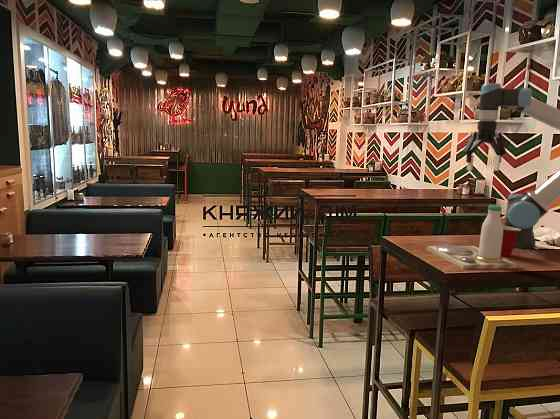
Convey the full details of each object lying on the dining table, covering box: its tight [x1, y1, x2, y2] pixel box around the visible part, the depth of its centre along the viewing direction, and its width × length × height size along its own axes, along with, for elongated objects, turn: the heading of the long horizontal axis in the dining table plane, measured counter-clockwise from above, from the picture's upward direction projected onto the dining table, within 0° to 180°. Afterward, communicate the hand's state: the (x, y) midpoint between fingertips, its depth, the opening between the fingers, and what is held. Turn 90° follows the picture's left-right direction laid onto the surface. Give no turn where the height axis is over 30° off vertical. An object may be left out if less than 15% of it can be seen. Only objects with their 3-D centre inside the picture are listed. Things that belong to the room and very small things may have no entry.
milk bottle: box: [478, 205, 504, 259], centre depth 181 cm, size 8×8×20 cm
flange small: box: [461, 257, 475, 263], centre depth 179 cm, size 5×5×1 cm
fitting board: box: [425, 245, 518, 270], centre depth 189 cm, size 22×28×2 cm
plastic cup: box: [500, 225, 521, 257], centre depth 196 cm, size 11×11×12 cm
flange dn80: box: [475, 254, 504, 263], centre depth 182 cm, size 10×10×1 cm
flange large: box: [435, 244, 473, 255], centre depth 194 cm, size 14×14×1 cm
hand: (482, 170), depth 206 cm, fingers open, 13 cm apart
